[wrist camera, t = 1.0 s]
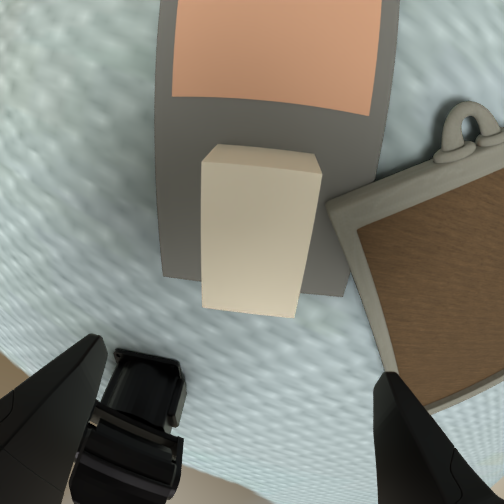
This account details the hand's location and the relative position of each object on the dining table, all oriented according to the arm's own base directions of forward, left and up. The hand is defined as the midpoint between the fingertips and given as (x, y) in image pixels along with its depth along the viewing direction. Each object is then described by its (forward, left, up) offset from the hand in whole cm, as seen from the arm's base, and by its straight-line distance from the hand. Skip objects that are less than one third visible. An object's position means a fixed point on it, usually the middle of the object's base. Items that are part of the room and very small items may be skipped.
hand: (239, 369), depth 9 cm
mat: (0, +5, -11) cm, 12 cm away
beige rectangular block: (0, 0, -10) cm, 10 cm away
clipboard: (+18, -4, -11) cm, 21 cm away
